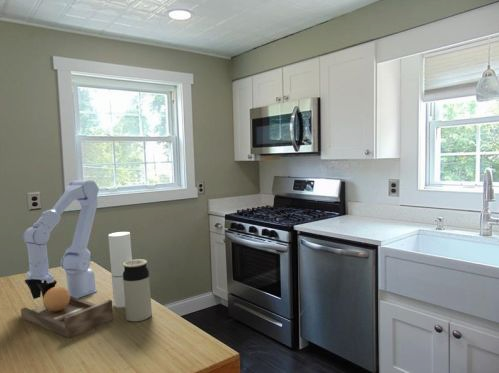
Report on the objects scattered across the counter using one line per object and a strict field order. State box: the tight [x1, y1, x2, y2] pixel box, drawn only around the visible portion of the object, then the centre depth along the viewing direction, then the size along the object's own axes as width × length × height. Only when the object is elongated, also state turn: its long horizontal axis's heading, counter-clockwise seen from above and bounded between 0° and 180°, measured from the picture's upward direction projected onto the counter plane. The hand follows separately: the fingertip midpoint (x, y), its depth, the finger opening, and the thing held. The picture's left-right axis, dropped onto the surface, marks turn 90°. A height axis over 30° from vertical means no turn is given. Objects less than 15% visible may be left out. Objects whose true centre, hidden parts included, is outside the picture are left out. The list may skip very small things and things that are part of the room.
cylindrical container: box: [107, 231, 133, 308], centre depth 133 cm, size 7×7×25 cm
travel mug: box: [123, 258, 153, 322], centre depth 122 cm, size 8×8×18 cm
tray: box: [20, 296, 114, 339], centre depth 124 cm, size 15×28×6 cm, turn 55°
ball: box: [42, 286, 70, 312], centre depth 127 cm, size 8×8×8 cm
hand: (42, 299), depth 132 cm, fingers open, 7 cm apart
